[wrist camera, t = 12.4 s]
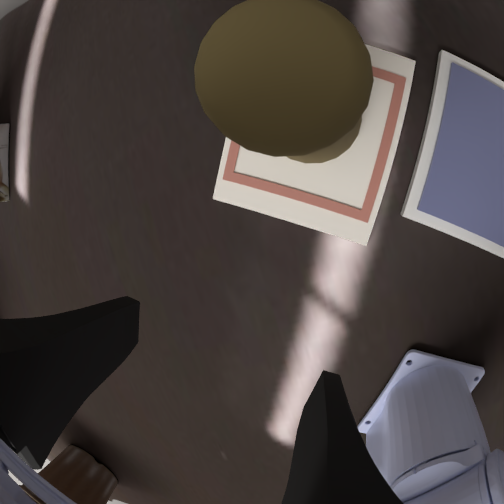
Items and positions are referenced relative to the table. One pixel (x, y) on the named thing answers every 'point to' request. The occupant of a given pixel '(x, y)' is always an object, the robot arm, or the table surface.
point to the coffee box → (4, 162)
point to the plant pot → (77, 478)
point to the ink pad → (462, 157)
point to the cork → (285, 78)
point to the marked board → (328, 166)
